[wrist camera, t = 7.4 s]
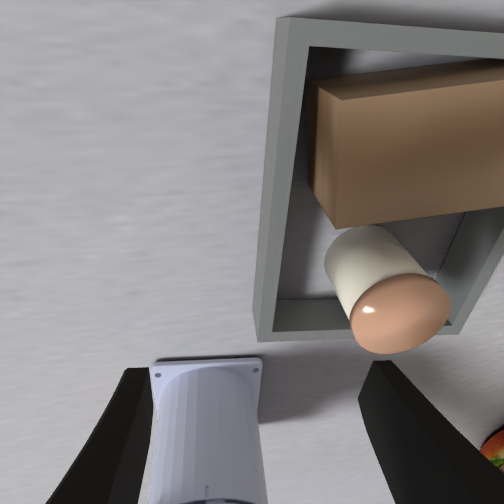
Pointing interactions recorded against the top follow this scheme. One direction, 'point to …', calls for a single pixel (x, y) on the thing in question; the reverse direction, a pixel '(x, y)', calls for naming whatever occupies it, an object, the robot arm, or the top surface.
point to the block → (407, 142)
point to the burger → (495, 450)
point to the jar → (384, 291)
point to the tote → (282, 162)
